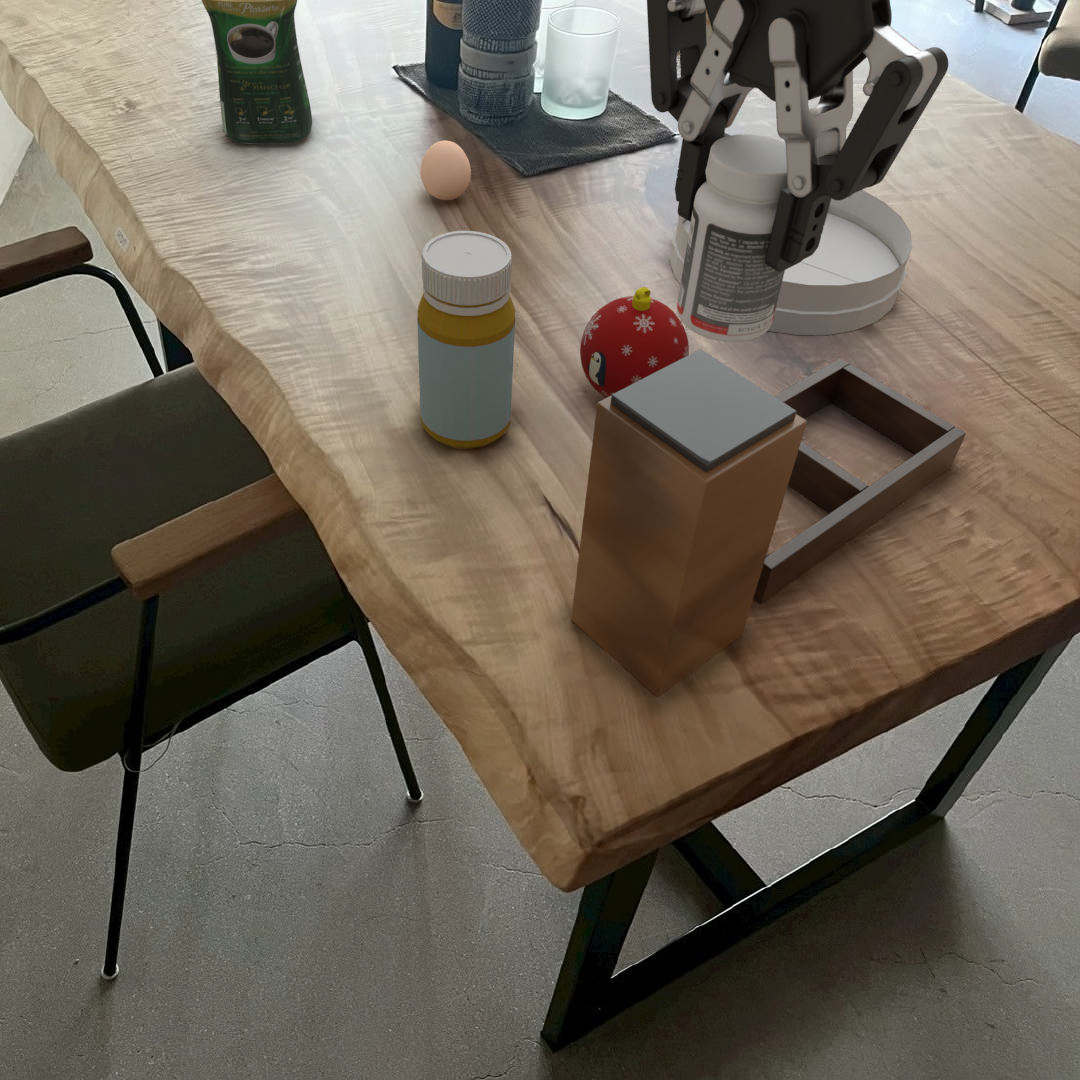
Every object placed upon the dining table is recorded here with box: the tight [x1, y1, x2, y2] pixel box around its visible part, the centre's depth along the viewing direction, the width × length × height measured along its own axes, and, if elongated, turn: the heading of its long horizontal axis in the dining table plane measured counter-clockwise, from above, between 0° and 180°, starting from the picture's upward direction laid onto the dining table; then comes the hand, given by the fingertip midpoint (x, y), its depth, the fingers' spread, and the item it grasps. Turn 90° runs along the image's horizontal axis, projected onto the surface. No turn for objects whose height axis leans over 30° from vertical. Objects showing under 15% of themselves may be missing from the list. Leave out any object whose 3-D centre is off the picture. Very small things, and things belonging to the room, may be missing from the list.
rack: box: [753, 357, 967, 605], centre depth 78 cm, size 12×23×4 cm, turn 131°
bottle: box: [416, 230, 516, 450], centre depth 77 cm, size 7×7×15 cm
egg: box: [420, 140, 472, 201], centre depth 105 cm, size 5×5×6 cm
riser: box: [570, 396, 808, 698], centre depth 62 cm, size 8×8×18 cm
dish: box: [669, 189, 913, 336], centre depth 100 cm, size 22×22×5 cm
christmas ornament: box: [579, 286, 690, 399], centre depth 82 cm, size 9×9×10 cm
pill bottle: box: [676, 133, 788, 343], centre depth 49 cm, size 5×5×8 cm
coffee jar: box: [201, 0, 313, 145], centre depth 109 cm, size 10×8×19 cm
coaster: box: [611, 348, 797, 472], centre depth 56 cm, size 7×7×1 cm
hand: (740, 237), depth 48 cm, fingers closed on pill bottle, 4 cm apart
